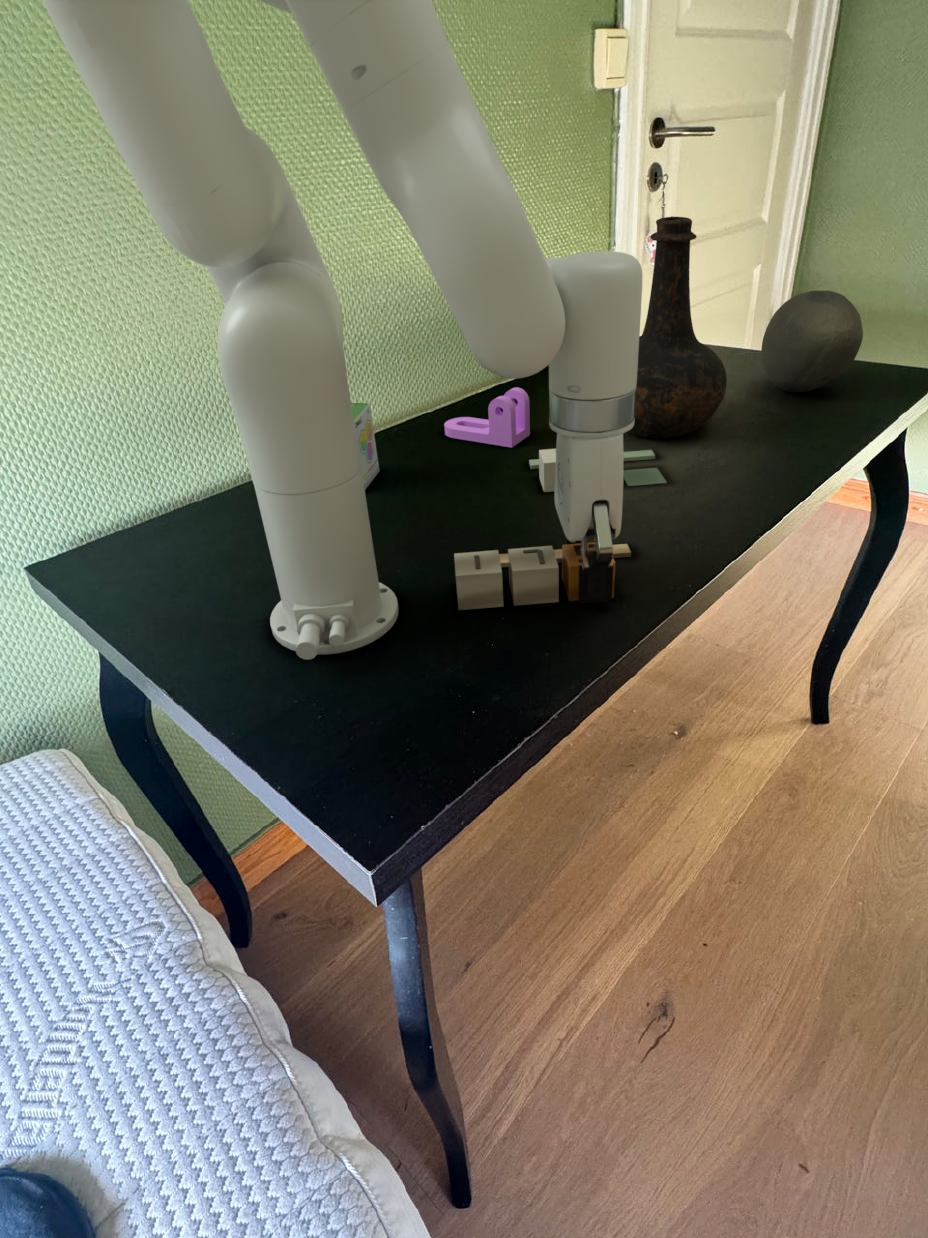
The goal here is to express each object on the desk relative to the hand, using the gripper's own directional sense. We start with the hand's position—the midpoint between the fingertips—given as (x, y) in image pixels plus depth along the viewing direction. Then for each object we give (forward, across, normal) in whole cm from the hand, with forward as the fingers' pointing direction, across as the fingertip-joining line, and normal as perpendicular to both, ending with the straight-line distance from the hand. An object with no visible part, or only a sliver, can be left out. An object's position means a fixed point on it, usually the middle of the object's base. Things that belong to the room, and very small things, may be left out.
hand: (587, 579), depth 77 cm
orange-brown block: (+1, 0, 0) cm, 1 cm away
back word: (+1, -29, +6) cm, 29 cm away
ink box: (+1, -32, -26) cm, 41 cm away
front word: (+1, -3, -4) cm, 5 cm away
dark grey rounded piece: (+1, -54, +44) cm, 70 cm away
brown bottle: (+1, -43, +18) cm, 47 cm away
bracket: (+1, -46, -8) cm, 47 cm away
